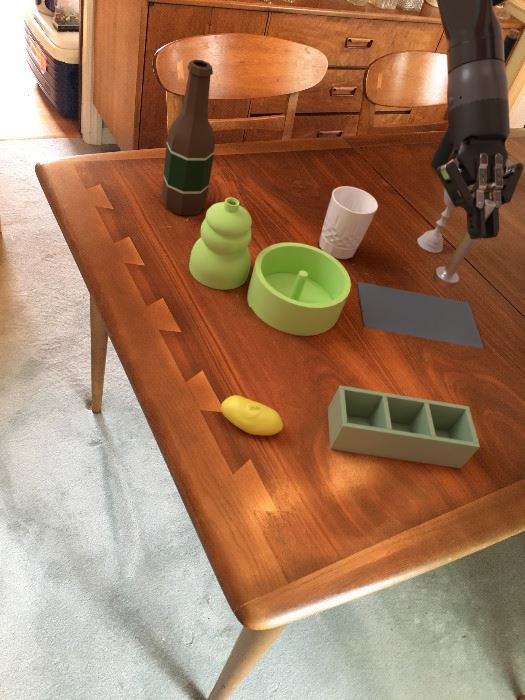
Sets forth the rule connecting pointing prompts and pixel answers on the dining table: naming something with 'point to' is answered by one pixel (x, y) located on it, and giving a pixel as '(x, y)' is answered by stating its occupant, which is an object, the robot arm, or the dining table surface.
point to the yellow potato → (251, 416)
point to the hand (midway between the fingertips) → (484, 237)
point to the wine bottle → (445, 148)
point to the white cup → (346, 221)
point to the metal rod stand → (459, 255)
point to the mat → (418, 315)
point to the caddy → (401, 427)
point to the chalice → (437, 229)
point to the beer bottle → (190, 147)
